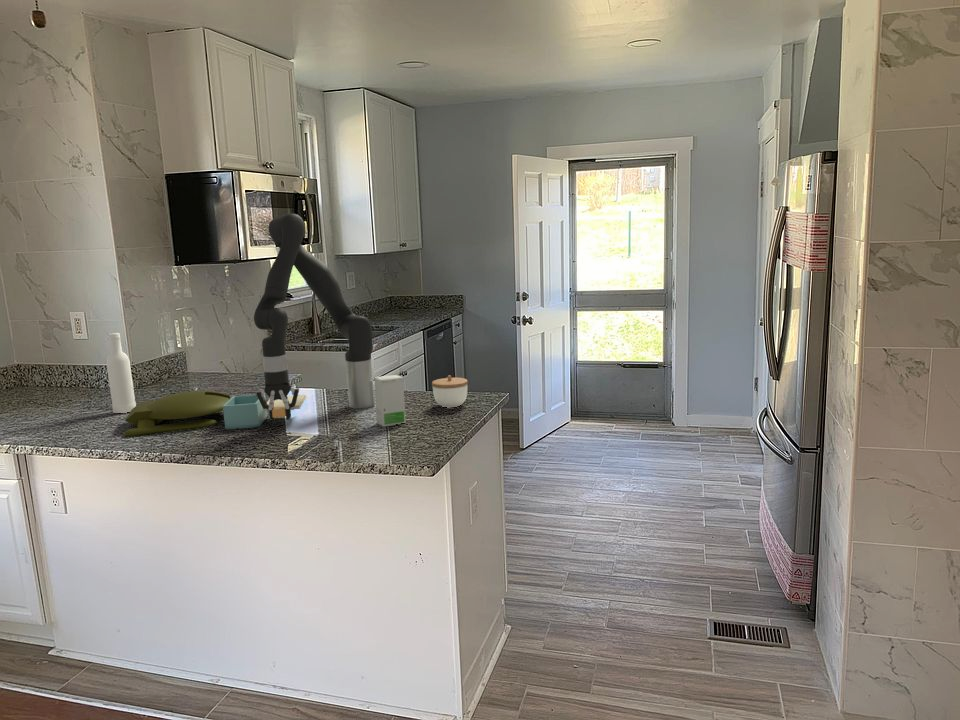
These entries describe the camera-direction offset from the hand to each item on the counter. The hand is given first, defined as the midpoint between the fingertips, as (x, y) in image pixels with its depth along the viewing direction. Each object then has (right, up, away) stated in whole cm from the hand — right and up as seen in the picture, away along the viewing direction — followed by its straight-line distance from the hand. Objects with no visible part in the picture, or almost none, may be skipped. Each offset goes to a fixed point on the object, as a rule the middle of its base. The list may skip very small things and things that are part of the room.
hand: (280, 419), depth 235 cm
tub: (-14, -2, +10) cm, 18 cm away
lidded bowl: (+55, +3, +20) cm, 59 cm away
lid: (-1, +3, +8) cm, 8 cm away
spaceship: (-39, -2, +18) cm, 43 cm away
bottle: (-69, 0, +36) cm, 78 cm away
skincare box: (+36, -1, 0) cm, 36 cm away
